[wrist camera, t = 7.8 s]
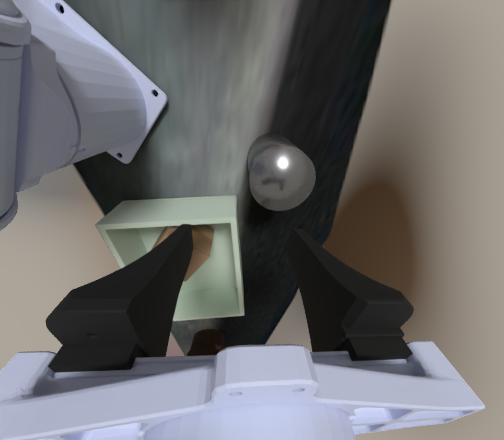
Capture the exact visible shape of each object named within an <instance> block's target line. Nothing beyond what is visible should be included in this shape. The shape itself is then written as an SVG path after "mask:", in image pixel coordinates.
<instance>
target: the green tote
mask: <svg viewBox="0 0 504 440" xmlns="http://www.w3.org/2000/svg"><path fill="white" fill-rule="evenodd" d="M181 224H191V225H198V224H206V225H208V226H210V227H211V228H213V229H215V230H214V236H213V241H212V247H211V253H210V257H209V258H208V259H207V260H206V261H205V262H204V263H203V264H202V265H201V266H200V268H199V269H198V270H197V271H196V272H195V273H194V274H193V275H192V276H191V277H190V278H189V279H188V280H187V281H186V282H185V281H183V284H182V286H181V289H180V293H179V296H178V300H177V304H176V309H175V313H174V317H173V321H181V320H194V319H207V318H219V317H232V316H244V291H243V275H242V262H241V249H240V236H239V223H238V210H237V197H236V195H228V196H208V197H188V198H168V199H148V200H128V201H122V202H121V203H120V204H119V205H118V206H116V207H115V208H114V209H113V210H112V211H111V212H109V213H108V214H107V215H106V216H105V217H104V218H103V219H101V220H100V221H99V222H98V223H97V224H96V227H97V229H98V231H99V232H100V234H101V236H102V237H103V239H104V241H105V242H106V244H107V246H108V248H109V249H110V251H111V253H112V254H113V256H114V257H115V259H116V261H117V262H118V264H119V266H120V268H123V267H125V266H127V265H128V264H130V263H132V262H134V261H135V260H137V259H139V258H140V257H142V256H143V255H145V254H146V253H148V252H149V251H151V249H152V248H153V246H154V244H155V242H156V241H157V239H158V237H159V236H160V234H161V233H162V231H163V230H164V229H165V227H166V226H180V225H181Z"/></svg>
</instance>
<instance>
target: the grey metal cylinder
mask: <svg viewBox="0 0 504 440" xmlns="http://www.w3.org/2000/svg"><path fill="white" fill-rule="evenodd" d="M248 169H249V181H250V189H251V193H252V195H253V197H254V198H255V200H256V201H257V202H258V203H259V204H260V205H261V206H263V207H265V208H267V209H270V210H275V211H284V210H289V209H292V208H294V207H296V206H298V205H299V204H301V203H302V202H303V201H304V200H305V199H306V198H307V197H308V196H309V194H310V193H311V191H312V189H313V187H314V183H315V169H314V166H313V163H312V161H311V160H310V159H309V157H308V156H307V155H306V154H304V153H303V152H302V151H301V150H300V149H298V148H297V147H296V146H295V145H294V144H292V143H291V142H290V141H289V140H288V139H286V138H285V137H284V136H282V135H279V134H275V133H269V134H265V135H262V136H260V137H259V138H258V139H256V140H255V141H254V142H253V144H252V145H251V147H250V149H249V152H248Z"/></svg>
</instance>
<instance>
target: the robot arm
mask: <svg viewBox="0 0 504 440" xmlns="http://www.w3.org/2000/svg"><path fill="white" fill-rule="evenodd" d="M61 5H62V6H63V8H64V13H63V14H62V13H61V11H60V6H61ZM154 90H156V91H157V92H158V96H157V97H156V96H154V94H153V91H154ZM167 101H168V99H167V96H166V94H165V93H164V92H163V91H162V90H161V89H159V88H158V87H157V86H156V85H155V84H154V83H153V82H152V81H151V80H150V79H148V78H147V77H146V76H145V75H144V74H143V73H142V72H141V71H140V70H139V69H138V68H136V67H135V66H134V65H133V64H132V63H131V62H130V61H129V60H128V59H127V58H126V57H124V56H123V55H122V54H121V53H120V52H119V51H118V50H117V49H116V48H115V47H114V46H112V45H111V44H110V43H109V42H108V41H107V40H106V39H105V38H104V37H103V36H101V35H100V34H99V33H98V32H97V31H96V30H95V29H94V28H93V27H92V26H91V25H89V24H88V23H87V22H86V21H85V20H84V19H83V18H82V17H81V16H80V15H79V14H77V13H76V12H75V11H74V10H73V9H72V8H71V7H70V6H69V5H68V4H66V3H65V2H64V1H63V0H0V231H1V230H2V229H3V228H5V227H6V226H7V225H8V224H9V223H10V222H11V221H12V220H13V218H14V217H15V215H16V213H17V209H18V201H17V194H16V192H20V191H22V190H25V189H27V188H30V187H32V186H34V185H37V184H39V181H40V178H41V177H42V176H43V175H44V174H47V173H50V172H52V171H55V170H57V169H59V168H62V167H65V166H68V165H70V164H73V163H76V162H78V161H81V160H84V159H86V158H89V157H92V156H94V155H97V154H100V153H102V152H105V151H106V152H108V153H109V154H111V155H112V156H114V157H115V158H117V159H118V160H120V161H121V162H122V163H125V164H128V163H130V162H131V161H132V159H133V158H134V156H135V154H136V153H137V151H138V149H139V148H140V146H141V144H142V143H143V141H144V139H145V138H146V136H147V135H148V133H149V131H150V130H151V128H152V126H153V125H154V123H155V121H156V120H157V118H158V117H159V115H160V113H161V112H162V110H163V108H164V107H165V105H166V103H167ZM119 153H121V154H122V157H120V156H119ZM14 190H15V191H14ZM192 252H193V237H192V226H191V224H181V225H180V226H179V227H178V228H177V229H176V230H175V231H174V232H173V233H171V234H170V235H169V236H168V237H167V238H166V239H165V240H163V241H162V242H161V243H160V244H158V245H157V246H156V247H155V248H153V249H152V250H151V251H149V252H148V253H146V254H145V255H143V256H142V257H140V258H139V259H137V260H135V261H134V262H132V263H130V264H128V265H127V266H125V267H123V268H121V269H119V270H117V271H115V272H113V273H111V274H109V275H107V276H105V277H103V278H100V279H98V280H96V281H94V282H91V283H89V284H86V285H84V286H81V287H78V288H76V289H73V290H71V291H70V292H69V293H68V295H67V296H66V297H65V298H64V299H63V300H62V301H61V302H60V304H59V305H58V306H57V307H56V308H55V309H54V310H53V311H52V313H51V314H50V315H49V316H48V317H47V319H46V326H47V328H48V330H49V331H50V332H51V333H52V334H53V335H54V336H55V337H56V338H57V339H58V340H59V341H60V343H61V344H62V345H63V346H62V347H61V349H60V350H59V351H58V353H57V354H56V353H54V352H49V351H40V352H39V351H37V352H18V353H16V354H15V355H14V356H13V358H12V359H11V360H10V361H9V362H8V363H7V364H6V366H5V367H4V368H3V369H2V370H1V371H0V440H356V437H355V435H357V434H364V433H371V432H379V431H385V430H392V429H400V428H407V427H414V426H424V425H434V424H444V423H447V422H450V421H453V420H456V419H458V418H461V417H464V416H466V415H469V414H472V413H475V412H477V411H480V410H483V409H485V406H484V404H483V403H482V402H481V401H480V399H479V398H478V397H477V396H476V394H475V393H474V392H473V391H472V389H471V388H470V387H469V386H468V385H467V383H466V382H465V381H464V380H463V379H462V377H461V376H460V375H459V374H458V372H457V371H456V370H455V369H454V368H453V366H452V365H451V364H450V363H449V361H448V360H447V359H446V357H445V356H444V355H443V354H442V353H441V351H440V350H439V349H438V348H437V346H436V345H435V344H434V343H433V342H432V341H412V342H408V343H405V341H404V340H403V338H402V337H403V336H404V333H403V331H402V330H401V329H400V327H401V326H402V325H403V324H404V323H405V322H406V321H407V320H408V319H409V318H410V317H411V315H412V313H413V310H414V309H413V306H412V305H411V303H410V302H409V301H408V300H407V299H406V297H405V296H404V295H403V294H402V293H401V292H400V291H398V290H395V289H393V288H391V287H388V286H386V285H384V284H381V283H379V282H377V281H375V280H373V279H371V278H368V277H367V276H365V275H363V274H361V273H359V272H358V271H356V270H354V269H352V268H350V267H349V266H347V265H346V264H344V263H343V262H341V261H340V260H338V259H337V258H335V257H334V256H333V255H331V254H330V253H329V252H328V251H326V250H325V249H324V248H323V247H322V246H320V245H319V244H318V243H317V242H316V241H315V240H314V239H312V238H311V237H310V236H309V235H308V234H307V233H306V232H305V231H303V230H302V229H293V232H292V236H291V239H290V243H289V247H288V254H289V259H290V263H291V266H292V269H293V272H294V275H295V278H296V281H297V284H298V286H299V289H300V293H301V296H302V300H303V305H304V309H305V313H306V318H307V323H308V328H309V334H310V339H311V346H312V352H310V351H309V350H308V349H306V348H305V347H303V346H302V345H295V344H277V345H276V344H275V345H239V346H232V347H227V348H225V349H223V350H221V351H220V352H219V353H218V354H217V355H208V356H177V357H166V352H167V346H168V341H169V336H170V331H171V327H172V322H173V317H174V313H175V309H176V304H177V300H178V296H179V293H180V289H181V286H182V284H183V281H184V278H185V275H186V272H187V270H188V267H189V264H190V261H191V257H192Z"/></svg>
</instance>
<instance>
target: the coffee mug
mask: <svg viewBox="0 0 504 440" xmlns="http://www.w3.org/2000/svg"><path fill="white" fill-rule="evenodd" d="M223 349H225V343H224V334H223V333H222V332H220V331H217V330H211V329H209V330H202V331H199V332H197V333H196V334H195V336H194V339H193V343H192V346H191V350H190V351H189V352H188V354H187V356H208V355H217V354H218V353H219V352H220V351H221V350H223Z"/></svg>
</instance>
